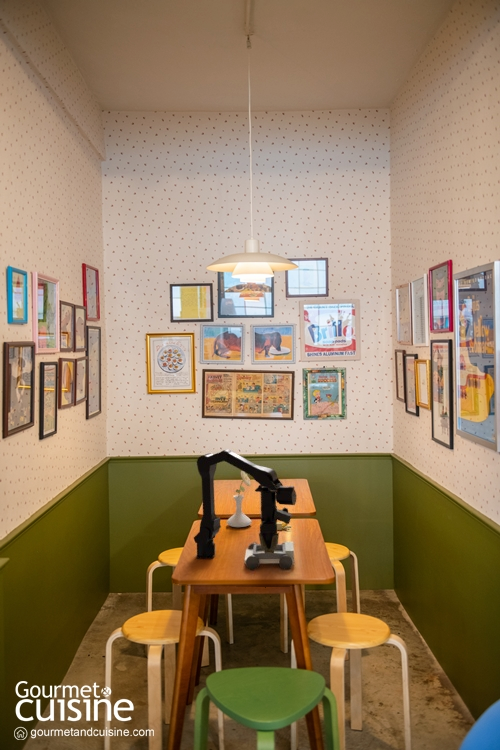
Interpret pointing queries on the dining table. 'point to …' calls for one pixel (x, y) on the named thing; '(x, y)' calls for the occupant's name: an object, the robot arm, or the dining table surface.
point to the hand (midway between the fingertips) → (269, 544)
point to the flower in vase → (239, 517)
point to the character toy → (282, 526)
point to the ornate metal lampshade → (273, 544)
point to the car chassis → (270, 556)
